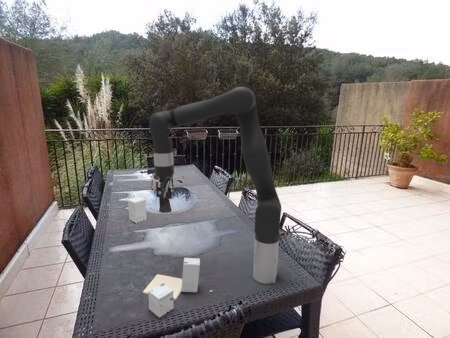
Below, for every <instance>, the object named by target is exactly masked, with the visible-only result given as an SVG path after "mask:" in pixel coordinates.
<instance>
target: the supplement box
mask: <svg viewBox="0 0 450 338" xmlns="http://www.w3.org/2000/svg"><path fill="white" fill-rule="evenodd" d="M146 201H147V200H146V199H145V198H142V197H140V196H137V197H136V196H135V197H133V198H130V199H127V209H128V220H129V219H130V220H132V221H133V222H132V221H131V222H132V223H134V222H135V223H136V224H138V223H137V222H139V223H141V222H140V221H142V222H144V221H143V220H145V221H147V220H148V219H147V202H146ZM130 220H129V221H130ZM135 223H134V224H135Z"/></svg>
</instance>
